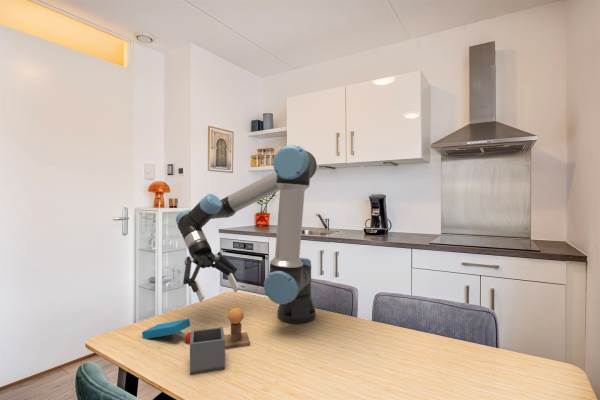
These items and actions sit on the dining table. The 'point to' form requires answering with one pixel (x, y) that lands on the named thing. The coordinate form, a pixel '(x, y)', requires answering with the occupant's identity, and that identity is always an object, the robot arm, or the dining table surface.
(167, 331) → the lever
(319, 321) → the dining table surface
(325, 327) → the dining table surface
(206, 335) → the square storage bin
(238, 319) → the ball
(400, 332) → the dining table surface
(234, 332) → the tee
